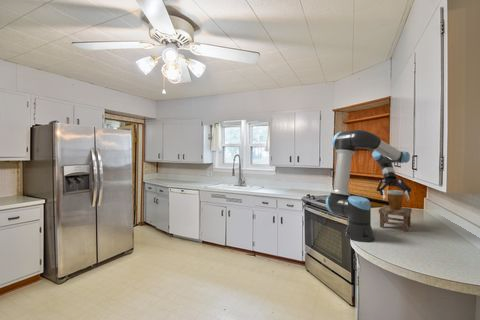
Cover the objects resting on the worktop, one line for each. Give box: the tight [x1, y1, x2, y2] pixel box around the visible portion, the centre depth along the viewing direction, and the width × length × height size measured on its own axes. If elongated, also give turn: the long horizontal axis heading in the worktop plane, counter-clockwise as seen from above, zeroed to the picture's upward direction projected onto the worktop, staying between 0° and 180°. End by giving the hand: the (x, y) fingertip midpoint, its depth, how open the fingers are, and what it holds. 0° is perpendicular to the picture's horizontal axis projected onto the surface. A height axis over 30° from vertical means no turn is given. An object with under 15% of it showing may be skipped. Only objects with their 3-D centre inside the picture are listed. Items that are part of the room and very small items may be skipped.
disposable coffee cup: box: [386, 189, 405, 210], centre depth 158 cm, size 10×10×12 cm
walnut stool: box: [378, 205, 413, 233], centre depth 158 cm, size 16×16×12 cm
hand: (396, 199), depth 155 cm, fingers open, 13 cm apart
